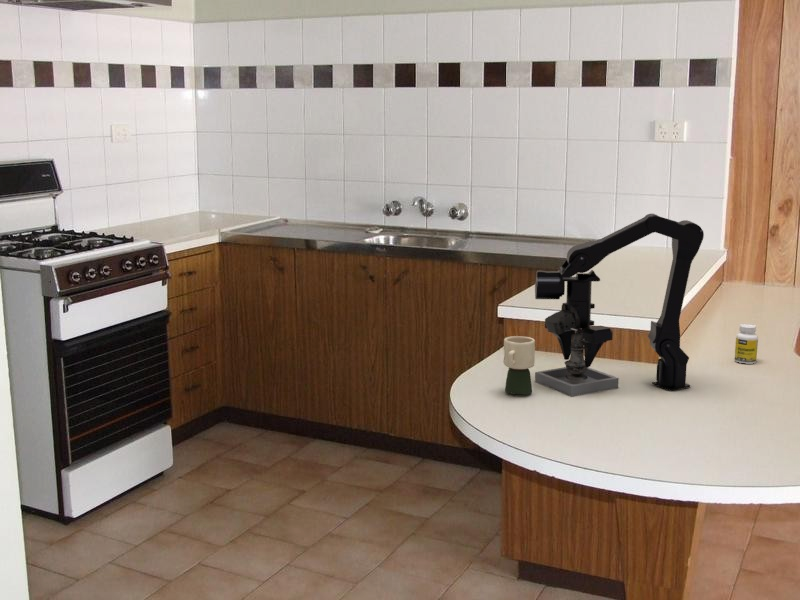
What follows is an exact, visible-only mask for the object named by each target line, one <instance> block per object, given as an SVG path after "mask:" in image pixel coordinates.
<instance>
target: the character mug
mask: <svg viewBox="0 0 800 600" xmlns="http://www.w3.org/2000/svg"><path fill="white" fill-rule="evenodd" d="M535 344H536V340H535V339H534V338H532V337H529V336H522V335H521V336H518V335H516V336H515V335H514V336H506V337H504V339H503V351H504V354H503V355H504V357H503V365H504V366H505V367H506V368H508V370H507V373H506V374H507V375H506V379H505V388H504V392H505V393H507V394H514V395H515V396H517V395H530V394H531V393H533V389H532V387H533V386H532V379H531V378H532V376H531V371H530V369H532V368H533V367H534V366H535V361H536V360H535V357H536V356H535V354H536V351H535V350H536V349H535V347H536V345H535Z"/></svg>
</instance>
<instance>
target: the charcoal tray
mask: <svg viewBox="0 0 800 600" xmlns="http://www.w3.org/2000/svg"><path fill="white" fill-rule="evenodd" d="M534 373H535V374H534V383H536V384H539V385H542V386H544V387H546V388H548V389H551V390H554V391H556V392H559V393H561V394H563V395H566V396H569V397H571V398H572V397H577V396H583V395H588V394H593V393H599V392H603V391H610V390H611V391H612V390H616V389H618V388H619V379H620V378H619V377H617V376H614V375H611V374H608V373H606V372H603V371H600V370H597V369H595V368H592V367H588V368H587V371H586V372H585V373H583V374H584V375H586V376H587V377H588V378H587V379H586V380H570V379H567V378H566V377H565V376H566V375H568V374H570V373H569V372H568V371H567V369H566V366H565V367H557V368H552V369H546V370H540V371H535V372H534Z"/></svg>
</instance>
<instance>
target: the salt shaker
mask: <svg viewBox="0 0 800 600" xmlns="http://www.w3.org/2000/svg"><path fill="white" fill-rule="evenodd" d="M582 335H583V334H582V333H579V332H575V333H573V334H572V337H571V346H570V349H571V354H570V357H569V359H568V360H565V362H564V365H565V367H566V369H567V371H568V372H569V373H570V374H568V375H566V376H565V377H566V378H567V379H570V380H586V379H587V378H588V377H587V376H586V375H584V374H583V373H585V372H586V371H587V368H588V367H585V353H584V345H583V344H582V343H581V342H580V340H584V338H583V336H582Z"/></svg>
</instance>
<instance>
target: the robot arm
mask: <svg viewBox="0 0 800 600" xmlns="http://www.w3.org/2000/svg"><path fill="white" fill-rule="evenodd" d="M654 233H656V234H659V235H662V236H664V237H665V236H666V237H669V238H670V239H671V249H672V261H671V266H670V271H669V275H668V276H669V277H668V279H667V283H666V284H667V285H666V290H665V295H664V298H663V303H662V304H663V305H662V307H661V309H662V310H661V314H660V316H659V318H658V320H657V321H653V320H650V331H649V332H648V334H647V338H648V340H649V344H650V346H651V347H652V349H653V350H654V351H655V353H656V354H657V355H658V357H659V358H657V364H656V374H655V375H656V377H655V381H652V382H651V385H652V386H656V387H659V388H661V389H664V390H667V391H676V390H682V389H686V388H687V389H688V388H691V385H690V384H689V383H686V380H687V367H688V366H687V364H688V362H689V359H690V357H689V355H687V353H685V351H684V350H683V349H682V348H681V329H680V328H681V327H680V318H681V314H682V313H681V312H682V309H683V303H684V298H685V293H686V291H687V285H688V281H689V275H690V270H691V267H692V263H693V261H694V258H695V257H696V256H697V254H698V252H699V251H700V247H701V245H702V243H703V241H704V238H705V237H704V236H705V235H704V230H703V229H702V228H701V226H700V225H698V224H697V223H695V222H693V221H691V220H688V219H686V220H685V219H683V220H680V221H677V220H676V221H675V220H672V219H670V218H666V217H663V216H659V215H658V214H655V213H648V214H646V215H645V216H644V217H642V218H640V219H638V220H636V221H634V222H632V223H630V224H627V225H626V226H624V227H622V228H620V229H618V230H616V231H613V232H612V233H609V234H607V235H606V236H603V237H602V238H600V239H599V238H598V239H596V240H592V241H591V240H590V241H586V242H583V243H580V244H577V245H576V244H575V245H573V246H572V247H570V248H569V249H568V251H567V253H566V259H565V261H564V262H563V263H562V264H561V265H560V266H559V268H558V269H557V270H555V271H554V270H553V271H550V270H547V271H546V270H540V269H539V270H536V275H535V282H534V299H535V300H560V298H561V297H563V296H565V291H566V302H563V303H562V304H561V310H559V311H556V312H554V313H553V314H551V315H549V316H547V317H546V318H544V328H545V329H547V332H548V333H551V334H553V336H555V337H556V338H557V341H558V343H559V347H560V349H561V352H562V355H563V356H562V357H563V359H564V360H565V361H568V360H570V356H571V349H570V346H571V337H572V334H573V333H576V332H579V333H582V334H583V335H582V336H583V338H584V340H580V342H581V343H582V344H583V346H584V360H585V367H589V368H591V365H592V364H593V362H594V360H595V358H596V356H597V354H598V353H599V351H600V349H601V348H602V346H603V345H604V344H605V343H607V342H608V341H609V342H610V341H612V340H613V338H614V332H613V330H612V328H610V327H608V326H607V327H606V326H604V325H596V326H595V321H594V320H592V319H591V318H592V317H591V315H592V314H591V313H592V312H591V311H592V309H595V307H596V305H595V303H592V282H600V281H601V278H600V277H599V276H598V275H597V274H596V272H595V271H594V269H593V268H594V267H595V266H597V265H598V264H599V263H601V262H602V261H603V260H604V259H605V258H607V257H608V256H610V254H612V253H615V252H617V251H619V250H621V249H623V248H625V247H627V246H629V245H632V244H633V243H635V242H637V241H639V240H641V239H643V238H645V237H647V236H649V235H651V234H654ZM588 271H589V272H588ZM586 272H587V273H586ZM565 283H566V284H565ZM565 286H566V287H565ZM565 288H566V290H565Z"/></svg>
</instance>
